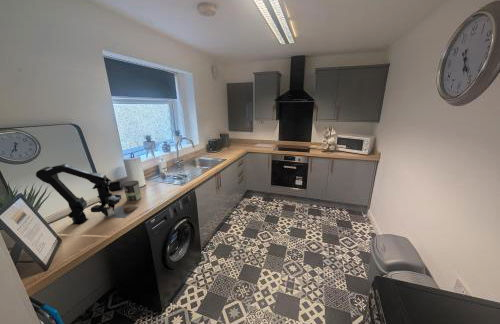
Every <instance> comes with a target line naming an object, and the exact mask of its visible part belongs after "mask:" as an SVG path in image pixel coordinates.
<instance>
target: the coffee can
mask: <svg viewBox="0 0 500 324" xmlns="http://www.w3.org/2000/svg"><path fill="white" fill-rule="evenodd" d="M122 186H123V189H124V193H125V194H124V195H125V198H126V201H127V202H128V203H133V202H137V201H140V200H141V199H142V192H141V188H140V183H139V181H138V180H130V181H126V182H124V183H122Z"/></svg>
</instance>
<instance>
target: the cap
mask: <svg viewBox="0 0 500 324" xmlns="http://www.w3.org/2000/svg"><path fill="white" fill-rule="evenodd" d="M107 207H108V208H107V212H108V216H106V217H110V216H113V215H114V211H113V208H112V207H109V206H107Z"/></svg>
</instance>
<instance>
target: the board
mask: <svg viewBox="0 0 500 324" xmlns="http://www.w3.org/2000/svg"><path fill="white" fill-rule="evenodd" d="M123 207H124V206H117V207H116V208H115V207H114V215H113V216H110V217H106V216H105V215H104V216H102V218H105V219H106V218H107V219H126V218H127V217H129V215H131V214H132V213H134V212H135V211H136V210H137V209H138V208H139V206H135V208H136V209H135V210H134V211H131V212H124V209H123Z"/></svg>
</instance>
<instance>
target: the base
mask: <svg viewBox="0 0 500 324" xmlns="http://www.w3.org/2000/svg"><path fill="white" fill-rule="evenodd" d="M122 207H123V209H124V212H131V211H133V212H135V211H136V210H137V209H136V208H135V207H136V205H135V204H133V203H130V204H126V205H125V206H122ZM135 209H136V210H135ZM134 210H135V211H134Z"/></svg>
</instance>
